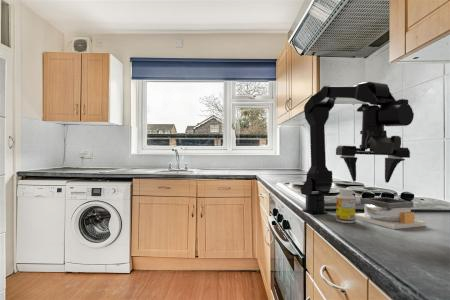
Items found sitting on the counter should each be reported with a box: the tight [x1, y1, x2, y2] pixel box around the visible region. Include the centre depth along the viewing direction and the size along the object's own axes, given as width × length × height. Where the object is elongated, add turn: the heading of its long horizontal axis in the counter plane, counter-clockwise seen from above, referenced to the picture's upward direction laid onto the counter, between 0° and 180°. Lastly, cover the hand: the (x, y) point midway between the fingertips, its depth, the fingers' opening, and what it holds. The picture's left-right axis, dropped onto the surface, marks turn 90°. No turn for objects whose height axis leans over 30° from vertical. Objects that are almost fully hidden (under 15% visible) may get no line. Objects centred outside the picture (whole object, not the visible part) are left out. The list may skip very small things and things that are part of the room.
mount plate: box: [355, 212, 426, 230], centre depth 101 cm, size 16×13×1 cm
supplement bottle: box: [335, 187, 357, 224], centre depth 99 cm, size 6×6×10 cm
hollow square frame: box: [361, 196, 415, 224], centre depth 100 cm, size 14×13×6 cm
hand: (370, 181), depth 91 cm, fingers open, 9 cm apart
